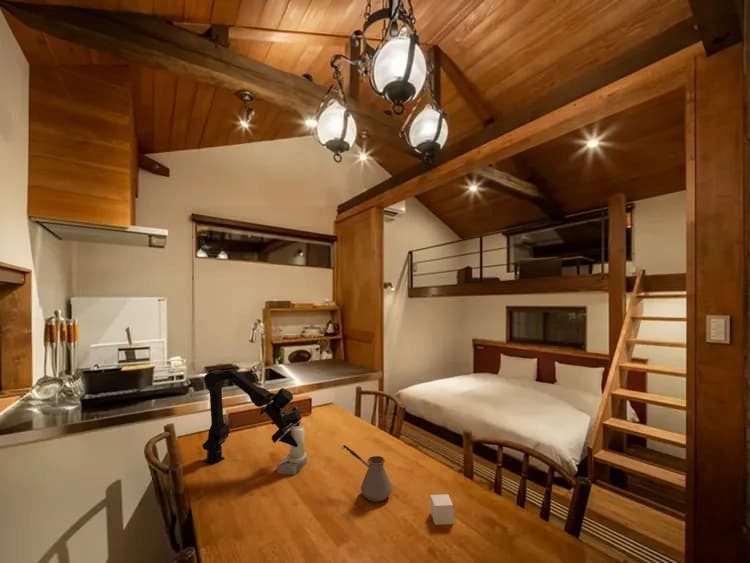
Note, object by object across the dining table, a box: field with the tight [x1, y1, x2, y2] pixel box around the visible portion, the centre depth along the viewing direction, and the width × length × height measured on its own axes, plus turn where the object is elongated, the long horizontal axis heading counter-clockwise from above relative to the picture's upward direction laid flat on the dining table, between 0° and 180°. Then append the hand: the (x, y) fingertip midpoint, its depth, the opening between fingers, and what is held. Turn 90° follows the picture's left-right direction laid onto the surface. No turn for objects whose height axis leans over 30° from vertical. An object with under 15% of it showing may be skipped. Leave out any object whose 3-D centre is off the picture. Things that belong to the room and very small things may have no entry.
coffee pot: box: [341, 444, 393, 503], centre depth 128 cm, size 21×12×15 cm, turn 58°
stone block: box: [276, 455, 308, 476], centre depth 146 cm, size 12×5×10 cm
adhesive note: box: [430, 493, 454, 526], centre depth 112 cm, size 6×6×6 cm
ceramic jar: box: [287, 425, 308, 463], centre depth 145 cm, size 8×8×12 cm
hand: (300, 443), depth 145 cm, fingers closed on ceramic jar, 6 cm apart
